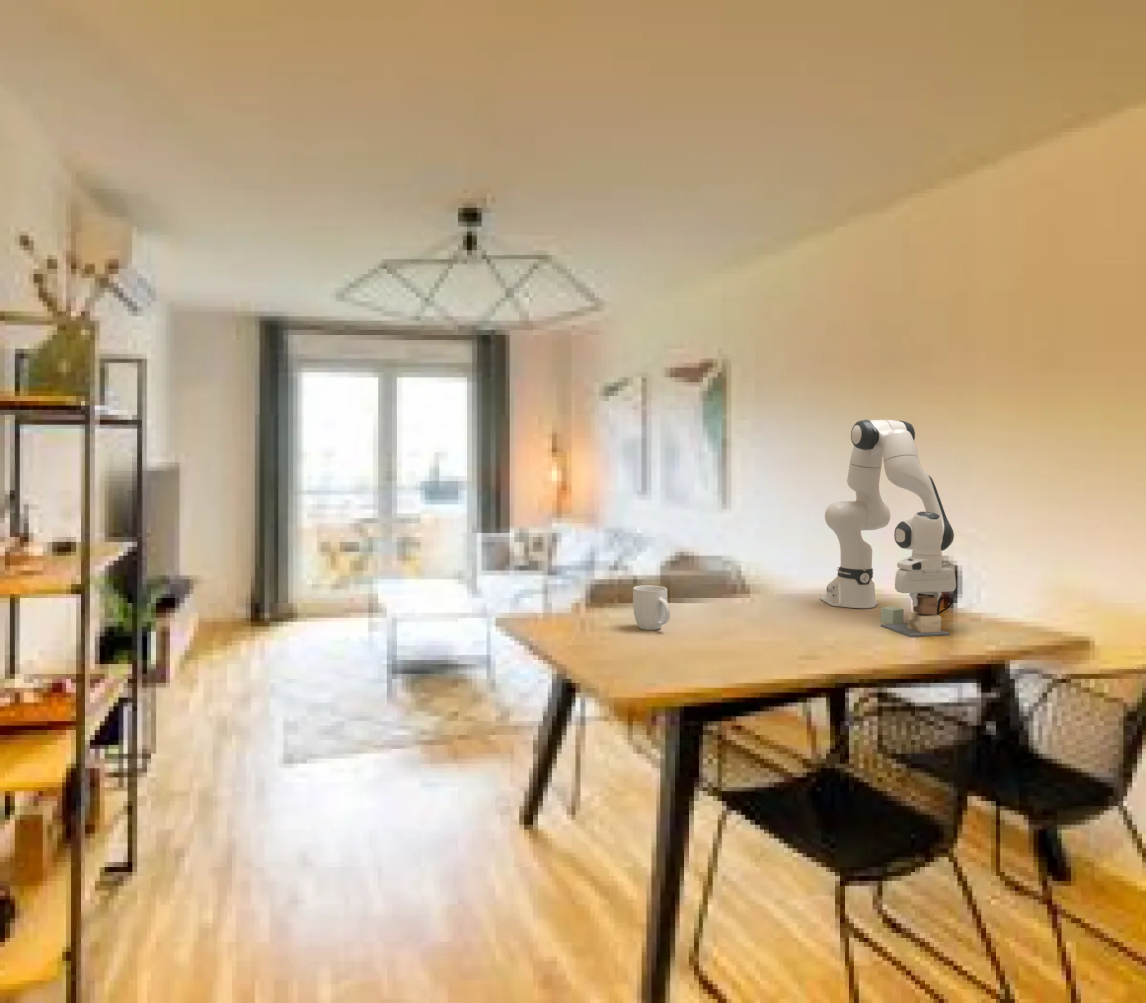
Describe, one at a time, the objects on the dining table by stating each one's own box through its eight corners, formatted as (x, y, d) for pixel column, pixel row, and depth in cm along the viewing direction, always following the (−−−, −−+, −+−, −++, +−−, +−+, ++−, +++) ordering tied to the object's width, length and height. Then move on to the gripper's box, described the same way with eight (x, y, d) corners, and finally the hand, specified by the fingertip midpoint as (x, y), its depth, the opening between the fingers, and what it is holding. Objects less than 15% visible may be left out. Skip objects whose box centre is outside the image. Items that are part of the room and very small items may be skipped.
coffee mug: (912, 622, 278) (913, 593, 277) (914, 618, 285) (915, 589, 285) (949, 626, 272) (951, 596, 272) (951, 621, 280) (952, 592, 279)
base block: (907, 627, 267) (908, 612, 267) (926, 626, 269) (926, 611, 268) (921, 632, 260) (922, 617, 260) (940, 631, 262) (941, 616, 261)
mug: (681, 631, 261) (682, 590, 261) (654, 635, 255) (655, 594, 255) (652, 623, 274) (652, 584, 273) (625, 626, 268) (626, 587, 267)
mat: (880, 626, 272) (880, 624, 272) (917, 624, 275) (917, 622, 275) (911, 637, 256) (911, 635, 256) (949, 635, 260) (950, 633, 260)
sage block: (880, 622, 279) (881, 607, 278) (890, 620, 281) (891, 606, 281) (892, 625, 274) (893, 610, 274) (903, 623, 277) (903, 609, 276)
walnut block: (913, 611, 266) (913, 595, 265) (926, 610, 267) (927, 595, 267) (923, 614, 261) (923, 598, 261) (936, 613, 262) (937, 598, 262)
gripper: (948, 560, 268) (946, 602, 269) (892, 562, 264) (891, 605, 265) (961, 563, 262) (959, 606, 263) (905, 565, 258) (903, 609, 258)
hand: (924, 605), depth 264 cm, fingers closed on walnut block, 5 cm apart
